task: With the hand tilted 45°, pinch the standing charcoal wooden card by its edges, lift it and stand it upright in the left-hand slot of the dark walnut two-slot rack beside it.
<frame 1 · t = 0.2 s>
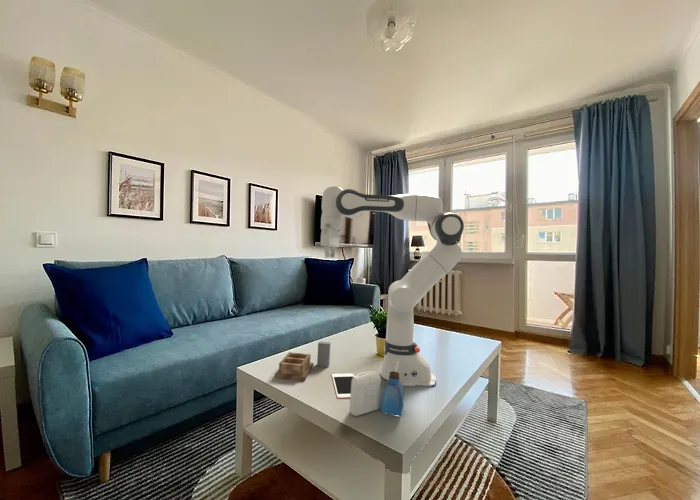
hand: (329, 257, 123), 47 cm above the table, tool pointing down, fingers open, 8 cm apart
charcoal card: (323, 365, 126), on the table
perfume bottle: (392, 410, 94), on the table
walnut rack: (294, 371, 118), on the table
cell phone: (345, 387, 109), on the table
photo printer: (364, 410, 93), on the table
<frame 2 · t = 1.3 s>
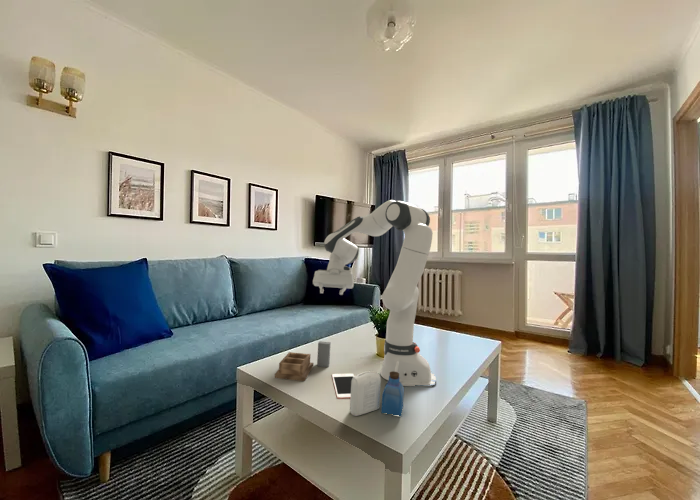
hand: (331, 293, 138), 30 cm above the table, tool tilted 45°, fingers open, 8 cm apart
nothing on the table moved.
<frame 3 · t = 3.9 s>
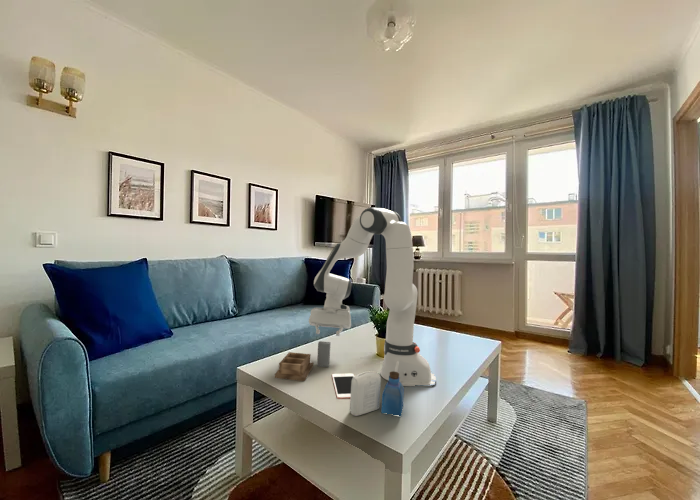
hand: (327, 334, 133), 11 cm above the table, tool tilted 45°, fingers open, 8 cm apart
nothing on the table moved.
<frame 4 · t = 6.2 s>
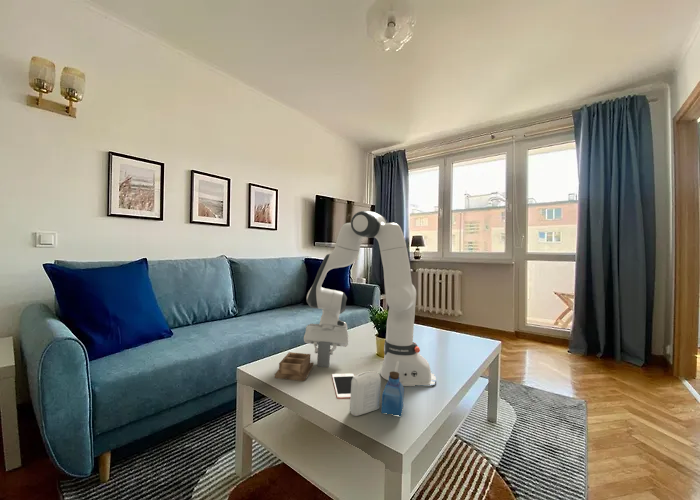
hand: (323, 353, 125), 5 cm above the table, tool tilted 45°, fingers closed on charcoal card, 5 cm apart
charcoal card: (323, 365, 126), on the table, touching gripper
everything else where it was.
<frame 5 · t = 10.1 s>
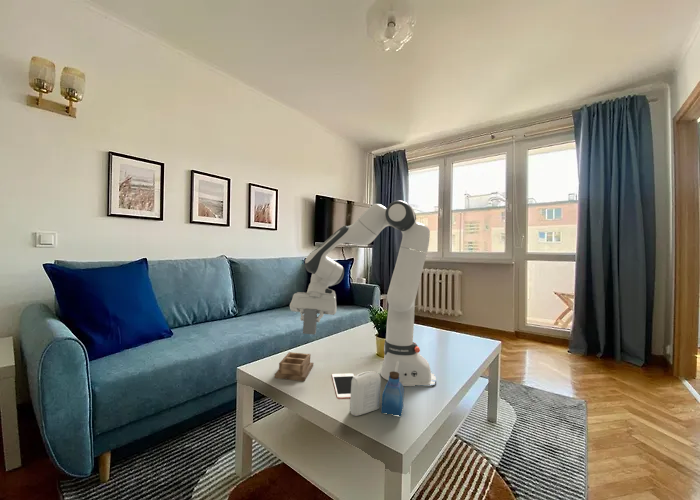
hand: (309, 320, 120), 21 cm above the table, tool tilted 45°, fingers closed on charcoal card, 5 cm apart
charcoal card: (309, 333, 121), point 15 cm above the table, touching gripper
everything else where it was.
when the fingers open (8 cm above the table, at t = 14.2 s): charcoal card stays where it is, resting on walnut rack.
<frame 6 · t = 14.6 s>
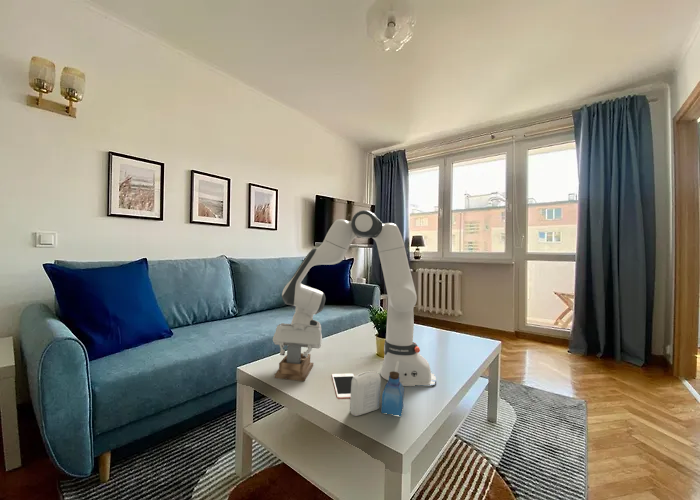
hand: (293, 355, 115), 8 cm above the table, tool tilted 45°, fingers open, 8 cm apart
charcoal card: (293, 371, 116), point 1 cm above the table, touching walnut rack
everything else where it was.
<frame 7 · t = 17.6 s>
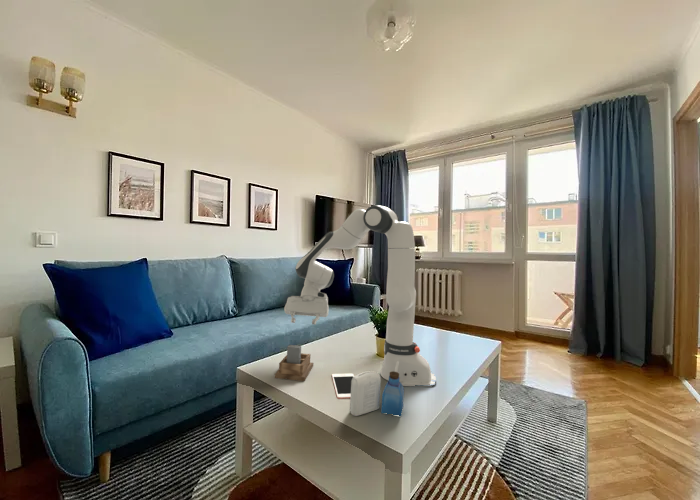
hand: (303, 323, 127), 18 cm above the table, tool tilted 45°, fingers open, 8 cm apart
nothing on the table moved.
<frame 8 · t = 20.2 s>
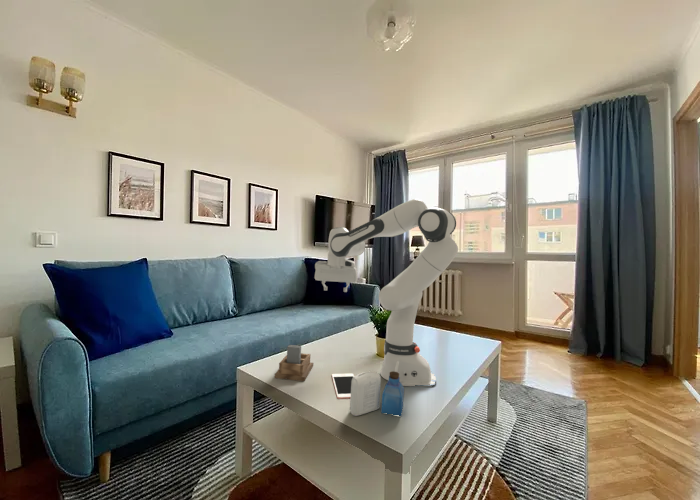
hand: (335, 291, 136), 31 cm above the table, tool pointing down, fingers open, 8 cm apart
nothing on the table moved.
at the end: charcoal card 0.0 cm from the target spot on the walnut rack, point 1.5 cm above the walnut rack's base; charcoal card tilted 0°; the gripper is holding nothing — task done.
